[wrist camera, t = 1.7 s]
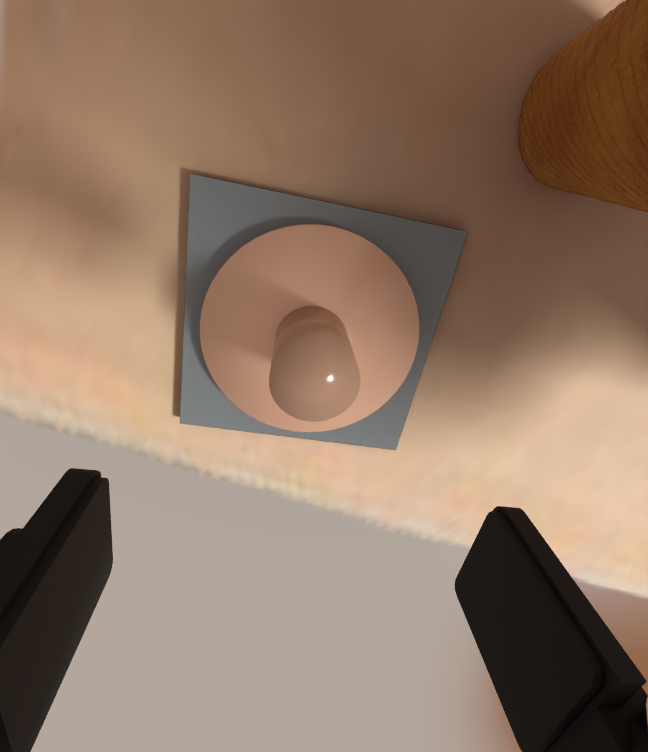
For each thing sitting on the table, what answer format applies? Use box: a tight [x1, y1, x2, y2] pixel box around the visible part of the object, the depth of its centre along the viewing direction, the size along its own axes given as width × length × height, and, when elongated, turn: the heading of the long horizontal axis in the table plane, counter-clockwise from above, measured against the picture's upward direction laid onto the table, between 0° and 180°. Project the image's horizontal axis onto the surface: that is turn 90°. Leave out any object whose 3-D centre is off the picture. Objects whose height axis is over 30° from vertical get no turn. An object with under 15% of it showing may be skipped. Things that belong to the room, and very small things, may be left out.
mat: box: [180, 174, 468, 450], centre depth 23 cm, size 14×14×1 cm
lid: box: [200, 224, 419, 432], centre depth 20 cm, size 12×12×6 cm
